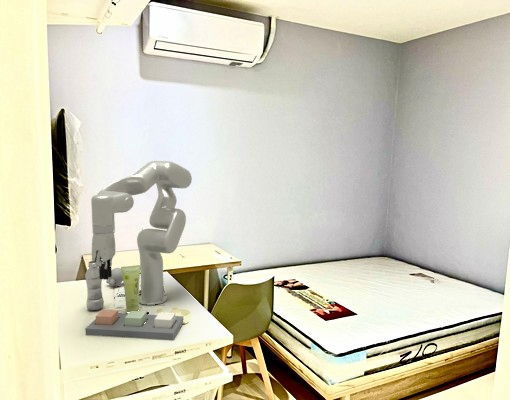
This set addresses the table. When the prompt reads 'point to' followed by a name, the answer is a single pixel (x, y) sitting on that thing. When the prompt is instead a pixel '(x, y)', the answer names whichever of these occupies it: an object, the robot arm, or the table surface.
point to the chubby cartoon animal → (115, 277)
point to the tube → (131, 286)
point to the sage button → (136, 318)
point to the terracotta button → (107, 317)
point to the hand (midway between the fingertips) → (105, 277)
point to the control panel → (135, 329)
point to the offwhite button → (164, 320)
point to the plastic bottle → (94, 287)
